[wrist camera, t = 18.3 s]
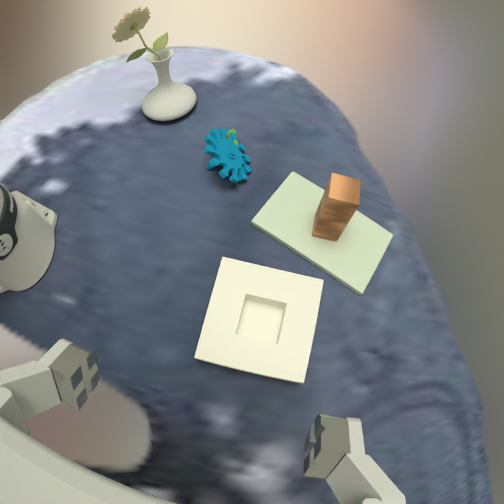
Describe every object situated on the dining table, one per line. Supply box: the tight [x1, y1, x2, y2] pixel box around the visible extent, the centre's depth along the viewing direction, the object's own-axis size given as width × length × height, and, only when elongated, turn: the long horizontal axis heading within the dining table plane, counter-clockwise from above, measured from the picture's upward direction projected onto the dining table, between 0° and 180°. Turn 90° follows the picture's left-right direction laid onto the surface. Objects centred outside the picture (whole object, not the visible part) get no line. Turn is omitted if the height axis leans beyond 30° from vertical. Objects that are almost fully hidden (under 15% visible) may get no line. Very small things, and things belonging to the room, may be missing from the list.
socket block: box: [194, 257, 324, 383], centre depth 43 cm, size 14×14×4 cm
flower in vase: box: [112, 7, 197, 121], centre depth 49 cm, size 13×11×25 cm
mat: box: [251, 171, 393, 295], centre depth 50 cm, size 20×12×1 cm, turn 55°
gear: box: [204, 128, 251, 183], centre depth 53 cm, size 11×6×10 cm
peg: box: [312, 173, 361, 242], centre depth 44 cm, size 4×4×11 cm
